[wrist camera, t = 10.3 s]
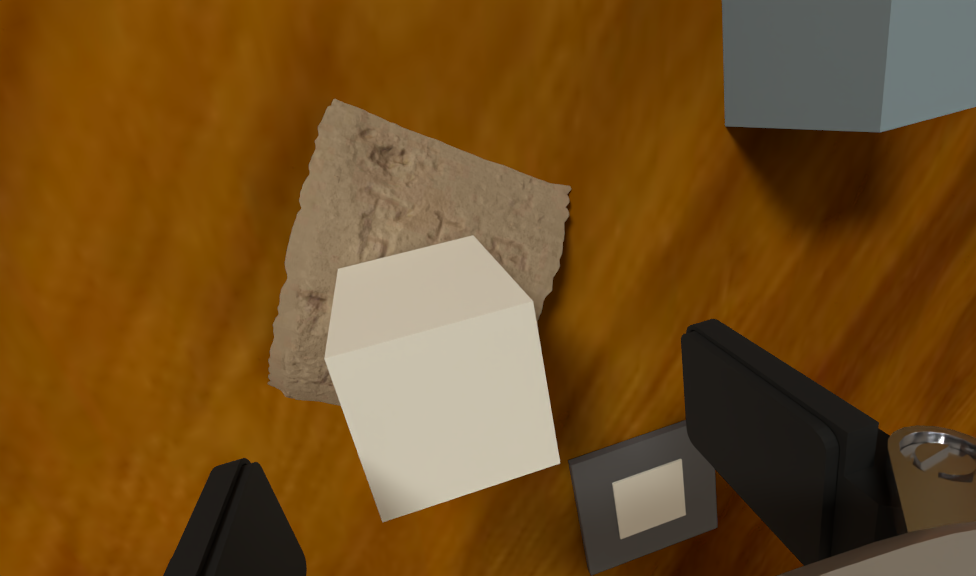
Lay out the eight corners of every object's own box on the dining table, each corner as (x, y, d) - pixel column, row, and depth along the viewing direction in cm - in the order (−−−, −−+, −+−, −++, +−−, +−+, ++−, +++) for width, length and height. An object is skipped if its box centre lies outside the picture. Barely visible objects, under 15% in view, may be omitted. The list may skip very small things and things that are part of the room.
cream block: (473, 235, 18) (533, 301, 12) (497, 351, 20) (559, 463, 14) (337, 269, 18) (324, 359, 11) (375, 387, 19) (382, 522, 13)
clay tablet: (475, 439, 25) (487, 476, 22) (258, 410, 22) (244, 449, 19) (575, 153, 21) (603, 159, 19) (331, 68, 18) (325, 61, 15)
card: (707, 412, 26) (713, 417, 26) (713, 522, 29) (718, 528, 29) (568, 460, 25) (571, 466, 25) (588, 569, 28) (591, 577, 28)
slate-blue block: (830, -28, 20) (1047, -93, 14) (824, 100, 22) (1013, 96, 16) (721, -5, 19) (896, -62, 13) (724, 126, 21) (880, 132, 15)
